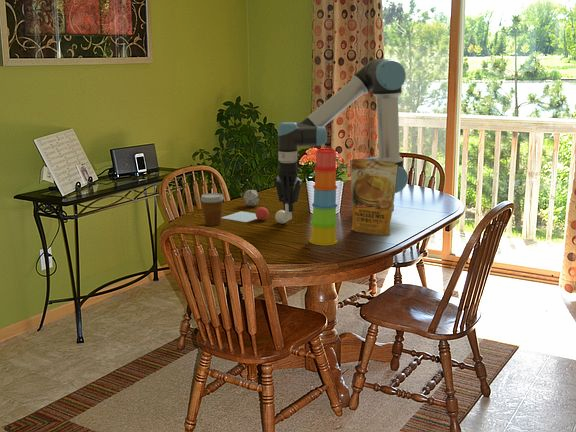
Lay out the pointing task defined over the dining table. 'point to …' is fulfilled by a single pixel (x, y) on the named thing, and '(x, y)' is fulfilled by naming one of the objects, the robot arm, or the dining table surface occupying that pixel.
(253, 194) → the game die
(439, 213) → the dining table surface
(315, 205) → the stacking cups
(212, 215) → the disposable coffee cup
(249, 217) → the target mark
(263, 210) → the red ball
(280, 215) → the cue ball
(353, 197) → the pancake mix bag
